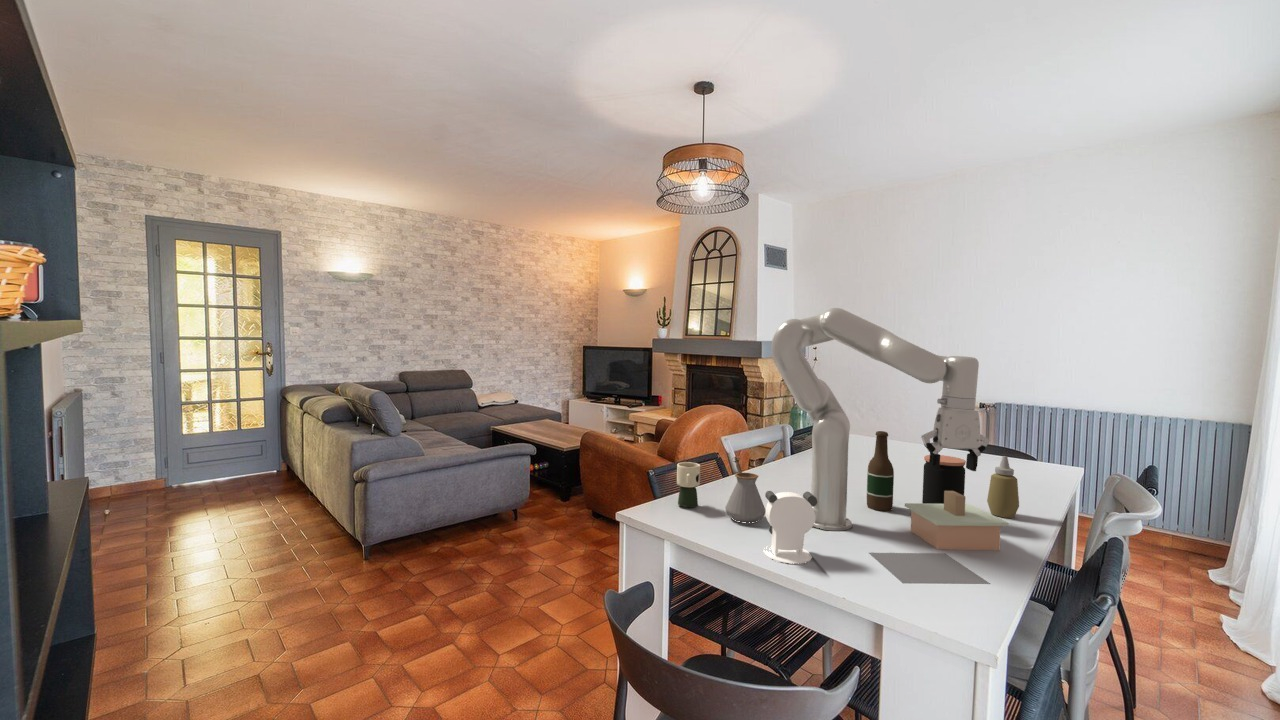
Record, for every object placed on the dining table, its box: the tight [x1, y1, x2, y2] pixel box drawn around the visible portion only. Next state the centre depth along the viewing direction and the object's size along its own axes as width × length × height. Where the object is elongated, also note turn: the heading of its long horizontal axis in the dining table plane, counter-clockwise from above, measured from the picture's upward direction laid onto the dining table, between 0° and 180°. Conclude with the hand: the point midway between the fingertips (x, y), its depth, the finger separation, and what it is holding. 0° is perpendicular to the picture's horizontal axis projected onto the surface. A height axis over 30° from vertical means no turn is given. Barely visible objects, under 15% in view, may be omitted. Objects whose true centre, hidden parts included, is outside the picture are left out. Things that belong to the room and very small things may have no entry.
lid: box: [904, 491, 1010, 527], centre depth 137 cm, size 18×15×6 cm
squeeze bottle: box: [986, 455, 1020, 519], centre depth 160 cm, size 8×8×18 cm
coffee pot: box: [724, 455, 766, 524], centre depth 157 cm, size 21×12×15 cm, turn 2°
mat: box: [868, 552, 991, 585], centre depth 120 cm, size 19×16×1 cm
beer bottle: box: [866, 430, 895, 512], centre depth 165 cm, size 8×8×24 cm
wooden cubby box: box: [910, 510, 1001, 552], centre depth 138 cm, size 16×13×7 cm
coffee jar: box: [921, 454, 967, 504], centre depth 156 cm, size 11×11×18 cm
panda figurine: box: [762, 490, 817, 565], centre depth 128 cm, size 12×11×15 cm
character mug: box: [676, 461, 701, 508], centre depth 163 cm, size 11×7×13 cm, turn 174°
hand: (952, 469), depth 137 cm, fingers open, 9 cm apart
